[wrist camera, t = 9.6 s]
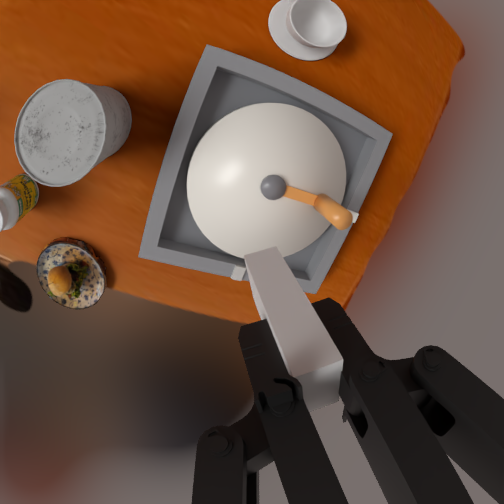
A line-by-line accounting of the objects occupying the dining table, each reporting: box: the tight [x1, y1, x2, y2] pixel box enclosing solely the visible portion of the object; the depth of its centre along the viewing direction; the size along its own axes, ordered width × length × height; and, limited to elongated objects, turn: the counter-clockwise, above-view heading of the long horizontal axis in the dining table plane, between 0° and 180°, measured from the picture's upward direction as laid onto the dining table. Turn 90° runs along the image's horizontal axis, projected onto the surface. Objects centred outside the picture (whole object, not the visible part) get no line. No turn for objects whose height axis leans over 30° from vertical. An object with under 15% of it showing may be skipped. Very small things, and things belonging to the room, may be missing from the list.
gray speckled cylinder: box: [14, 79, 132, 187], centre depth 24 cm, size 10×10×12 cm
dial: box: [187, 103, 353, 258], centre depth 32 cm, size 20×20×8 cm
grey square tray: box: [139, 45, 393, 294], centre depth 36 cm, size 26×26×5 cm
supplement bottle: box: [0, 174, 39, 232], centre depth 26 cm, size 5×5×10 cm
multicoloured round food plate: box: [36, 237, 107, 309], centre depth 35 cm, size 12×12×8 cm
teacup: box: [268, 0, 347, 61], centre depth 27 cm, size 10×10×5 cm
